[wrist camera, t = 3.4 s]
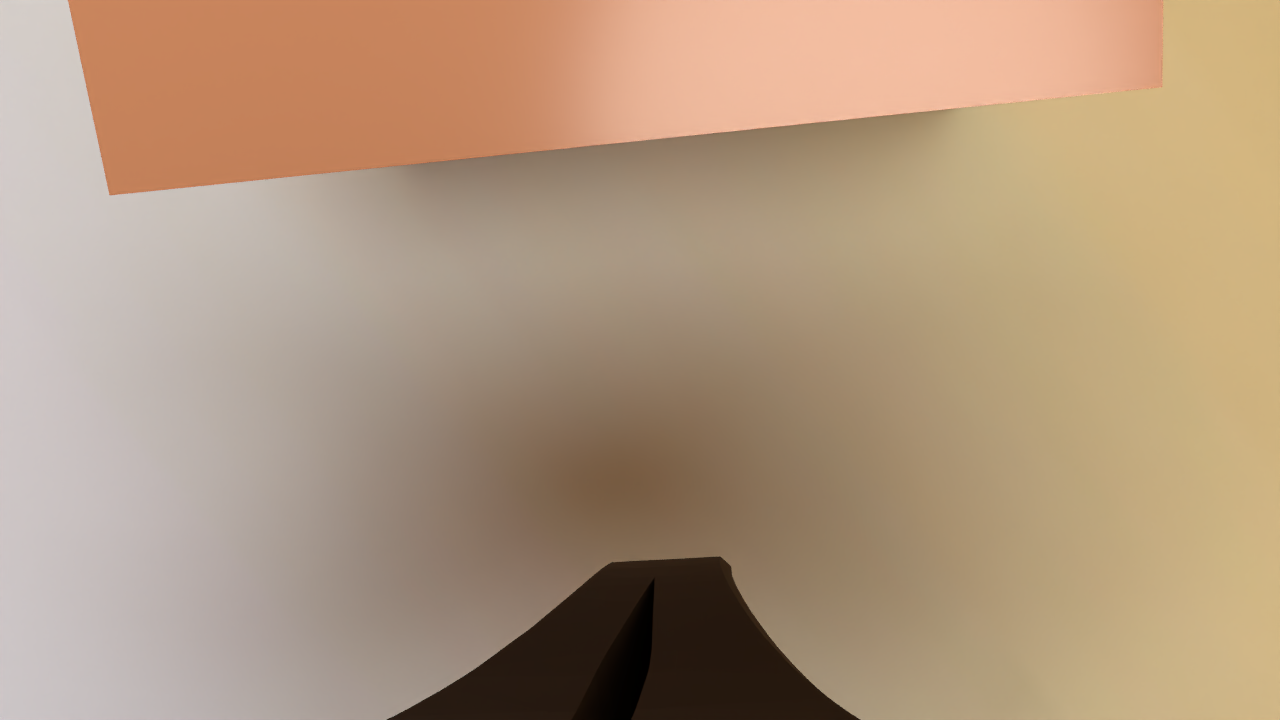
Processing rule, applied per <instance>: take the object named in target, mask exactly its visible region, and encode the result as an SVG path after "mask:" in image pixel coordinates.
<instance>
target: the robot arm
mask: <svg viewBox="0 0 1280 720" xmlns="http://www.w3.org/2000/svg"><path fill="white" fill-rule="evenodd" d="M387 720H860V719H858V718H857V717H855V716H854V715H852V714H850V713H849V712H847V711H846V710H845V709H843V708H842V707H840V706H839V705H838V704H836V703H835V702H833V701H832V700H831V699H829V698H828V697H827V696H826V695H824V694H823V693H822V692H821V691H820V690H819V689H817V688H816V687H815V686H814V685H813V684H812V683H811V682H810V681H809V680H808V679H807V678H806V677H805V676H804V675H803V674H802V673H801V672H800V671H799V670H798V669H797V668H796V667H795V666H794V665H793V664H792V663H791V662H790V660H789V659H788V658H787V657H786V656H785V655H784V654H783V653H782V652H781V650H780V649H779V648H778V647H777V646H776V645H775V643H774V642H773V641H772V640H771V638H770V637H769V636H768V635H767V633H766V632H765V630H764V629H763V628H762V626H761V625H760V623H759V622H758V621H757V619H756V618H755V616H754V615H753V614H752V612H751V611H750V609H749V608H748V606H747V604H746V603H745V601H744V600H743V598H742V596H741V594H740V592H739V590H738V589H737V586H736V584H735V582H734V580H733V577H732V571H731V566H730V565H729V564H728V563H727V562H726V561H725V560H723V559H722V558H721V557H704V558H685V559H667V560H648V561H630V562H611V563H610V564H608V565H607V566H605V567H604V568H602V569H601V570H600V571H599V572H597V573H596V574H595V575H594V576H592V577H591V578H590V579H589V580H588V581H587V582H585V583H584V584H583V585H582V586H581V587H580V588H578V589H577V590H576V591H575V592H574V593H573V594H571V595H570V596H569V597H568V598H567V599H565V600H564V601H563V602H562V603H561V604H559V605H558V606H557V607H556V608H555V609H553V610H552V611H551V612H550V613H549V614H547V615H546V616H545V617H544V618H543V619H541V620H540V621H539V622H538V623H537V624H535V625H534V626H533V627H532V628H530V629H529V630H528V631H526V632H525V633H524V634H522V635H521V636H520V637H518V638H517V639H515V640H514V641H513V642H511V643H510V644H509V645H507V646H506V647H505V648H503V649H502V650H500V651H499V652H498V653H496V654H495V655H494V656H492V657H491V658H490V659H488V660H487V661H485V662H484V663H483V664H481V665H480V666H479V667H477V668H476V669H474V670H473V671H471V672H470V673H468V674H467V675H465V676H464V677H462V678H460V679H459V680H457V681H456V682H454V683H452V684H451V685H449V686H447V687H446V688H444V689H442V690H441V691H439V692H437V693H435V694H434V695H432V696H430V697H428V698H427V699H425V700H423V701H421V702H420V703H418V704H416V705H414V706H412V707H411V708H409V709H407V710H405V711H403V712H401V713H399V714H397V715H395V716H394V717H391V718H389V719H387Z"/></svg>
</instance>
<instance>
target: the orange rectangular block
mask: <svg viewBox="0 0 1280 720" xmlns="http://www.w3.org/2000/svg"><path fill="white" fill-rule="evenodd" d="M68 2H69V7H70V12H71V16H72V21H73V26H74V30H75V35H76V40H77V44H78V49H79V54H80V58H81V63H82V68H83V72H84V77H85V82H86V87H87V91H88V96H89V101H90V105H91V110H92V115H93V119H94V124H95V129H96V133H97V138H98V143H99V148H100V152H101V157H102V162H103V166H104V171H105V176H106V180H107V185H108V190H109V194H110V195H117V194H126V193H136V192H146V191H156V190H165V189H175V188H185V187H195V186H204V185H214V184H224V183H233V182H243V181H253V180H263V179H272V178H282V177H292V176H302V175H311V174H321V173H331V172H340V171H350V170H360V169H370V168H379V167H389V166H399V165H409V164H418V163H428V162H438V161H447V160H457V159H467V158H477V157H486V156H496V155H506V154H516V153H525V152H535V151H545V150H554V149H564V148H574V147H584V146H593V145H603V144H613V143H623V142H632V141H642V140H652V139H661V138H671V137H681V136H691V135H700V134H710V133H720V132H730V131H739V130H749V129H759V128H768V127H778V126H788V125H798V124H807V123H817V122H827V121H836V120H846V119H856V118H866V117H875V116H885V115H895V114H905V113H914V112H924V111H934V110H943V109H953V108H963V107H973V106H982V105H992V104H1002V103H1012V102H1021V101H1031V100H1041V99H1050V98H1060V97H1070V96H1080V95H1089V94H1099V93H1109V92H1119V91H1128V90H1138V89H1148V88H1157V87H1162V59H1163V0H68Z"/></svg>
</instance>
